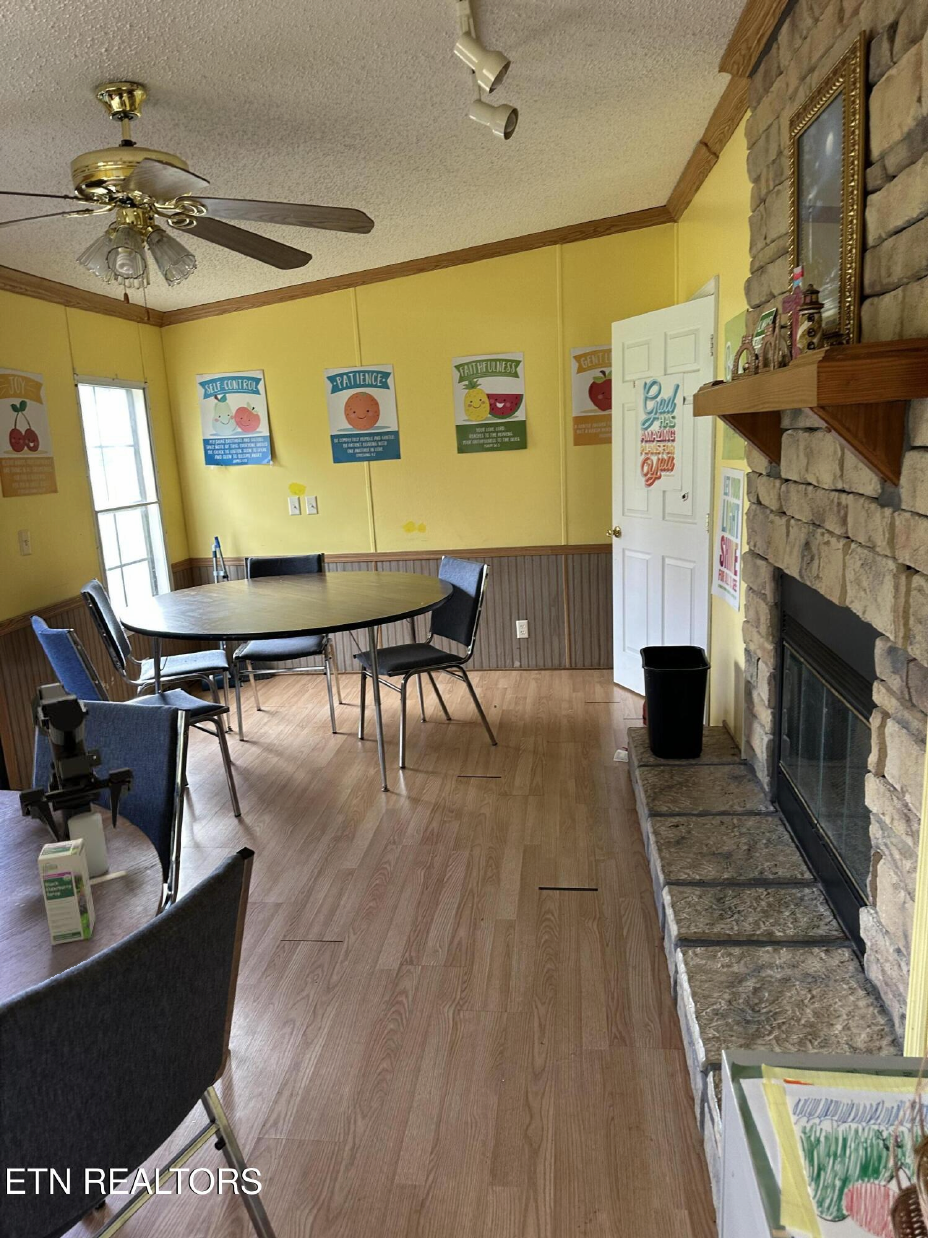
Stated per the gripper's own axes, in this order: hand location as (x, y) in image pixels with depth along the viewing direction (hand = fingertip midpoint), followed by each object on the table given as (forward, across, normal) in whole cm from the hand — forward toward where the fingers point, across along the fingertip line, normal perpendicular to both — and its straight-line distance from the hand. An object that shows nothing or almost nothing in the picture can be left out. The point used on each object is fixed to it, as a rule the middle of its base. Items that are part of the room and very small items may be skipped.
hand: (87, 834), depth 148 cm
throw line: (+8, 0, +2) cm, 8 cm away
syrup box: (+18, -5, -8) cm, 21 cm away
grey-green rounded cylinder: (+4, 0, +6) cm, 7 cm away
